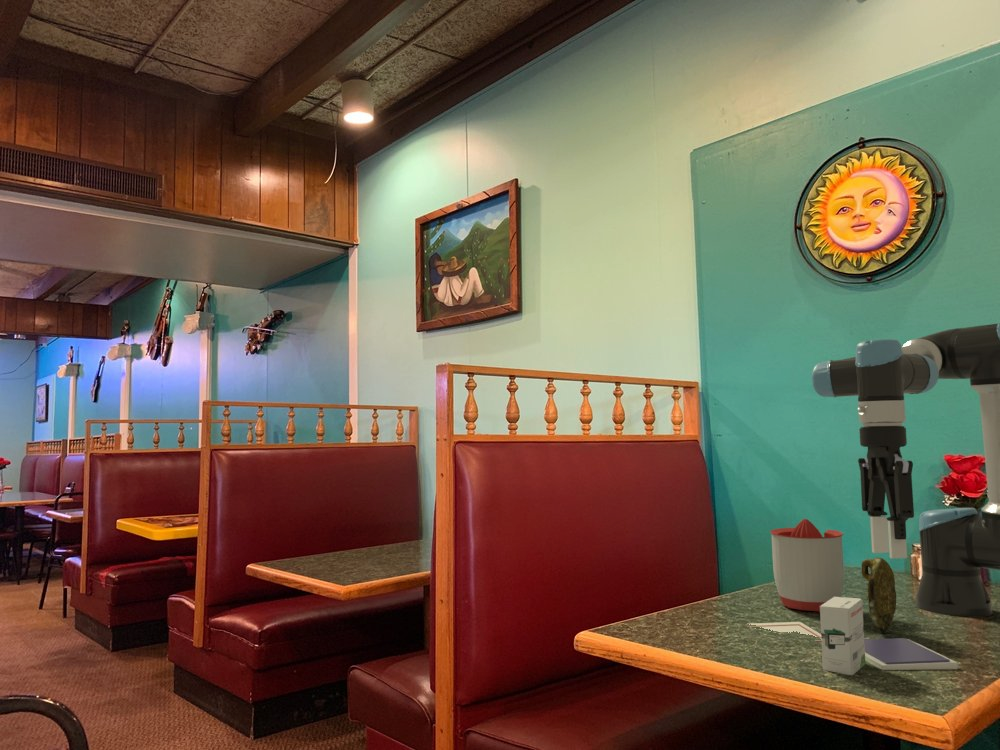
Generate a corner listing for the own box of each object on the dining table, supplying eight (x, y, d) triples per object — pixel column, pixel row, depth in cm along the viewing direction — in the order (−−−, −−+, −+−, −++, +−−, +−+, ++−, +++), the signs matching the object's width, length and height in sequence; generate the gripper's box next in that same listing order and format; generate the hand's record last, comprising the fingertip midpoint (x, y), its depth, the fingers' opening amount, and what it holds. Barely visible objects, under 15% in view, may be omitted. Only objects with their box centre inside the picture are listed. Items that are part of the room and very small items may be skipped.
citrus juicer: (857, 602, 171) (852, 516, 173) (836, 619, 158) (830, 524, 160) (789, 594, 181) (785, 512, 183) (763, 608, 168) (759, 520, 169)
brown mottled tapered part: (880, 639, 143) (876, 561, 144) (855, 635, 146) (851, 558, 147) (899, 630, 149) (894, 554, 150) (874, 625, 152) (870, 552, 153)
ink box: (836, 662, 130) (833, 594, 131) (867, 668, 127) (863, 598, 128) (821, 676, 123) (817, 604, 124) (853, 682, 120) (849, 608, 121)
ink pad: (908, 646, 138) (907, 637, 138) (957, 671, 124) (957, 660, 124) (840, 648, 137) (840, 639, 138) (882, 673, 123) (881, 663, 124)
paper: (799, 623, 155) (799, 621, 155) (837, 645, 139) (837, 643, 139) (725, 625, 155) (725, 623, 155) (754, 648, 139) (754, 646, 139)
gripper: (837, 425, 142) (843, 547, 141) (890, 424, 125) (897, 564, 123) (875, 425, 143) (881, 546, 141) (933, 424, 125) (941, 563, 123)
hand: (889, 554), depth 132 cm, fingers open, 5 cm apart
